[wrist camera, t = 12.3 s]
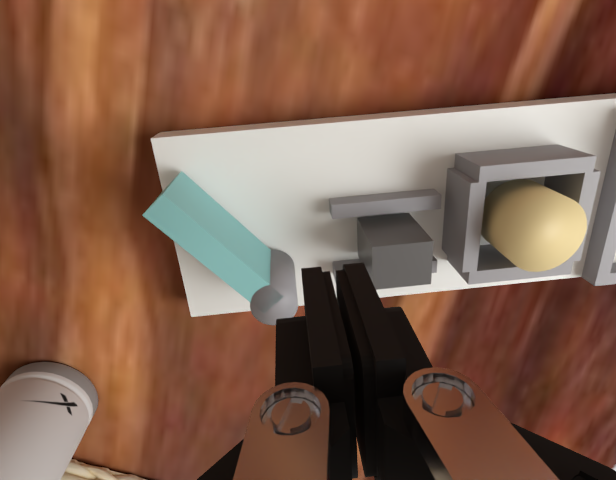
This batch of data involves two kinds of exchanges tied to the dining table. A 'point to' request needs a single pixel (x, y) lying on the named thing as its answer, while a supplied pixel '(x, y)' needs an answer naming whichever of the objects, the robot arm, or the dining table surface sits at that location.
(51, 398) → the travel mug
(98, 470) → the storage basket
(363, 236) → the grey rectangular block
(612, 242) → the board
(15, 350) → the dining table surface
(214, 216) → the teal lever handle
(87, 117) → the dining table surface
